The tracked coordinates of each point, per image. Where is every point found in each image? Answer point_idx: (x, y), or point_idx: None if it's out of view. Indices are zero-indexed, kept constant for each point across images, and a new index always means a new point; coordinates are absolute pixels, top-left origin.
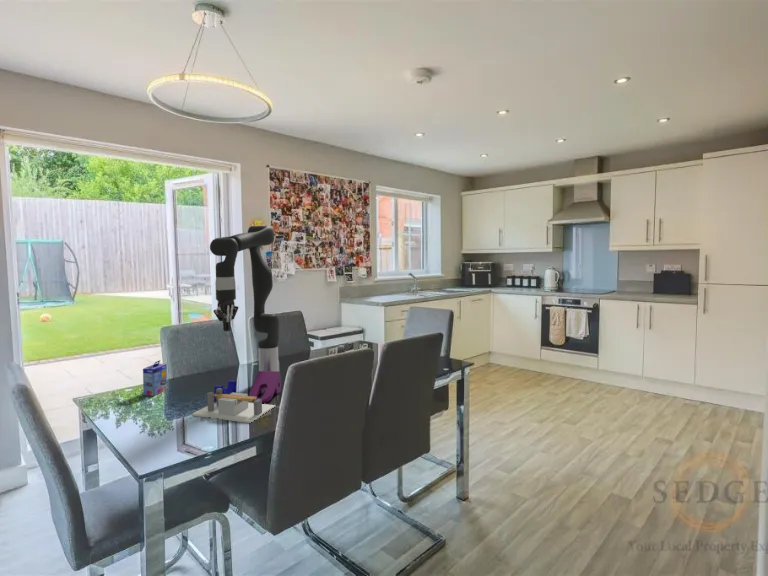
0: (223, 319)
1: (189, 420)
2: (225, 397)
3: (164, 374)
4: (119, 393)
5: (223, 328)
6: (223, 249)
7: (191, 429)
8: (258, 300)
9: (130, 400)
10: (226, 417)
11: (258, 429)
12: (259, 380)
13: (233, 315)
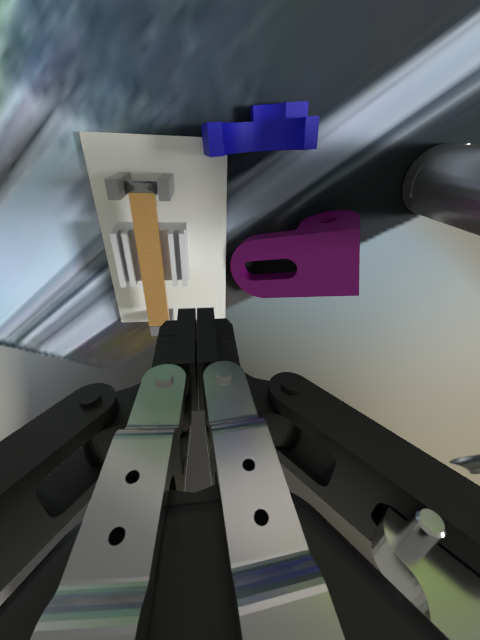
0: (77, 465)
1: (48, 154)
2: (136, 241)
3: None
4: None
5: (159, 332)
6: None
7: (10, 213)
8: None
9: None
10: (109, 259)
11: (104, 349)
12: (310, 248)
13: (294, 467)
